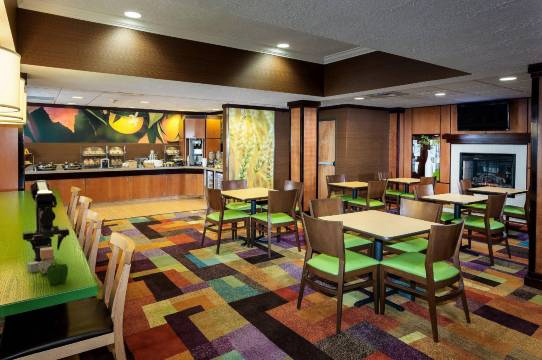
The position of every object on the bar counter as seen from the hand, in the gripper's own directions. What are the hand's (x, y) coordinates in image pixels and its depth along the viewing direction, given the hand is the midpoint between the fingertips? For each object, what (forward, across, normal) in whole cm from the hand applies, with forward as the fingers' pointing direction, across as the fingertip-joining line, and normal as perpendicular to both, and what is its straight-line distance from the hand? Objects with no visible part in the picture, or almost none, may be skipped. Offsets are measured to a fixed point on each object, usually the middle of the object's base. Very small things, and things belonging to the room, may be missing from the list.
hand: (46, 251), depth 181 cm
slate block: (+11, -5, +8) cm, 14 cm away
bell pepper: (+11, +2, -17) cm, 20 cm away
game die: (+11, 0, 0) cm, 11 cm away
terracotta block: (+3, 0, 0) cm, 3 cm away
